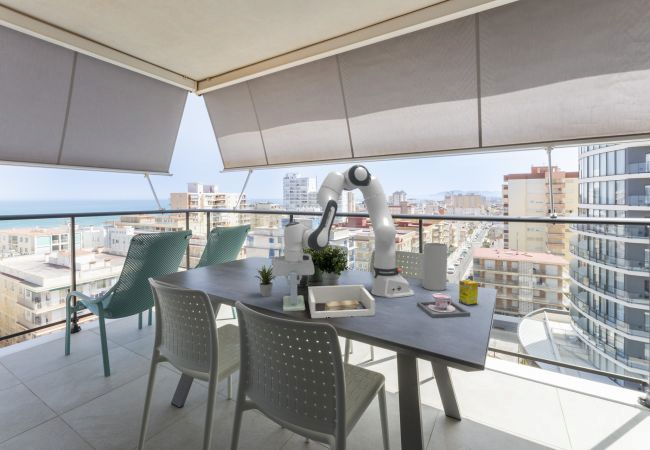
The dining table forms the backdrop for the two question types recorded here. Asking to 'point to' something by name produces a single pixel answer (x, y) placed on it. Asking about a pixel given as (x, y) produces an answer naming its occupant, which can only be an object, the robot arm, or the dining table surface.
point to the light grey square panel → (293, 286)
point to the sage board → (293, 306)
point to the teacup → (442, 303)
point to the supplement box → (468, 292)
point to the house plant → (266, 281)
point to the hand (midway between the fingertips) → (293, 284)
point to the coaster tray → (441, 315)
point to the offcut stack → (341, 305)
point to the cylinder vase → (435, 266)
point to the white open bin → (340, 294)
